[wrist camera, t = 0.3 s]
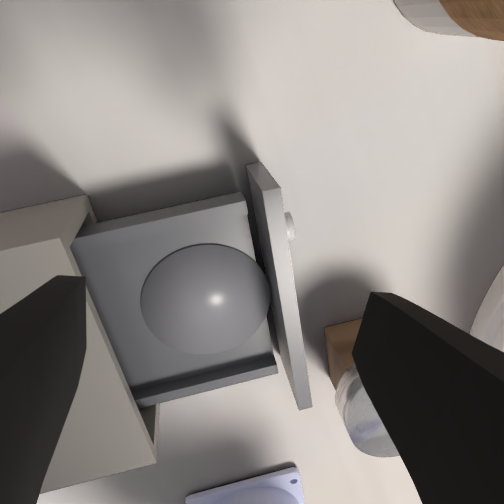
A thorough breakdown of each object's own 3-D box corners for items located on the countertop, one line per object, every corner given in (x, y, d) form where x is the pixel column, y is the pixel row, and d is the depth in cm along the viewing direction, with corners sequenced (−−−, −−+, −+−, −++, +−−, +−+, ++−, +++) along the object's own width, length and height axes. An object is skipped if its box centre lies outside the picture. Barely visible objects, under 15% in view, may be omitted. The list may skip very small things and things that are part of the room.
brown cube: (391, 362, 26) (420, 405, 23) (329, 378, 26) (351, 423, 22) (389, 311, 24) (421, 349, 21) (324, 327, 24) (346, 369, 21)
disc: (432, 410, 23) (453, 440, 21) (338, 435, 23) (352, 468, 21) (435, 334, 21) (460, 361, 19) (331, 361, 20) (345, 391, 18)
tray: (300, 352, 24) (322, 404, 21) (126, 396, 23) (117, 457, 20) (271, 159, 19) (293, 184, 15) (44, 208, 18) (12, 246, 15)
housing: (160, 389, 24) (156, 463, 19) (-16, 433, 23) (-60, 520, 19) (86, 194, 18) (59, 237, 14) (-148, 244, 17) (-252, 306, 13)
